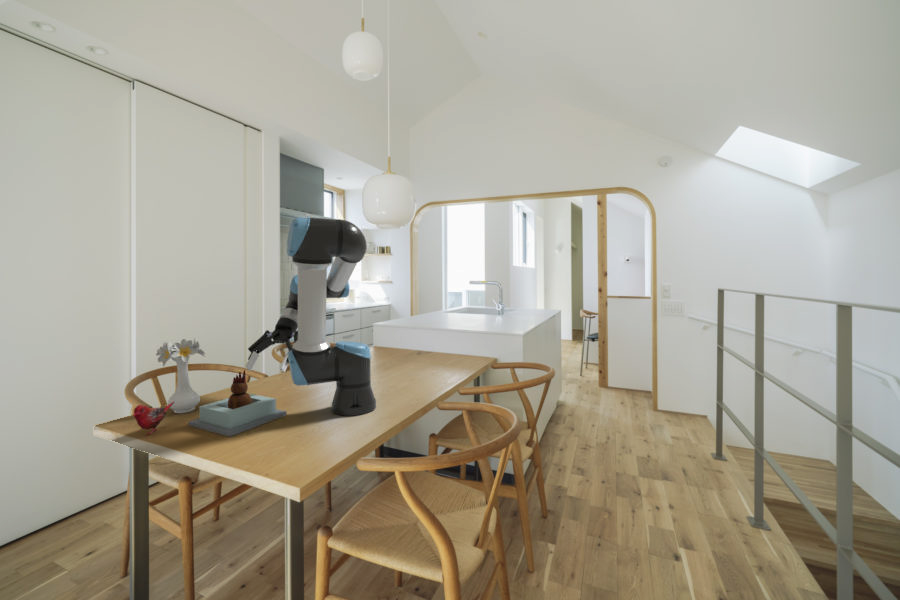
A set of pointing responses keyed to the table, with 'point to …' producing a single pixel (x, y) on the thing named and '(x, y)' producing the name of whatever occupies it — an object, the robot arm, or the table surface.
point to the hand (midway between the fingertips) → (264, 369)
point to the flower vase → (181, 373)
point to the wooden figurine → (239, 393)
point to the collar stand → (237, 415)
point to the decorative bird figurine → (149, 416)
